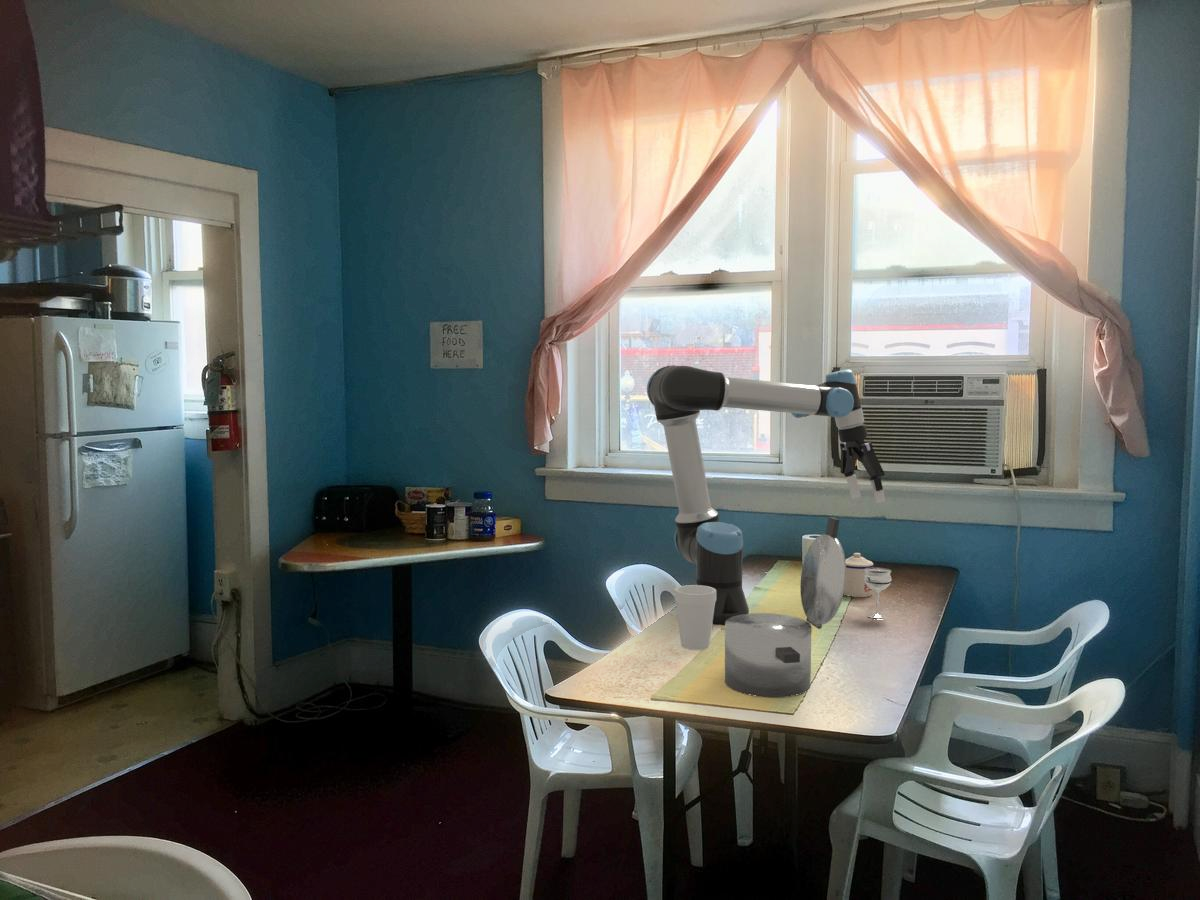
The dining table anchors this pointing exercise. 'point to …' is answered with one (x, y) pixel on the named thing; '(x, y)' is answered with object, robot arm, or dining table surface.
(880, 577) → the wineglass
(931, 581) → the dining table surface
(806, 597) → the cooker lid
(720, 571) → the robot arm
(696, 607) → the foam cup
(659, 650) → the dining table surface
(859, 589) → the teacup with lid
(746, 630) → the cooker pot
